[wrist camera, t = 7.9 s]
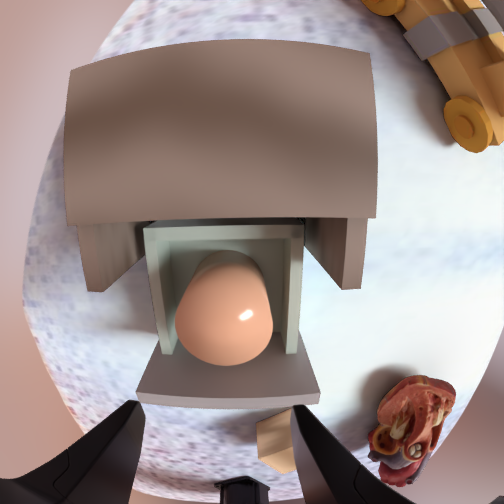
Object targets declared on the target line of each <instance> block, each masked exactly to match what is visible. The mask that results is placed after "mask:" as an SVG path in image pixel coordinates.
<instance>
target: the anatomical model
mask: <svg viewBox="0 0 504 504" xmlns="http://www.w3.org/2000/svg"><path fill="white" fill-rule="evenodd" d="M455 397H456V392H455V389H454V388H453V386H452V385H451V384H449V383H448V382H446V381H443V380H439V379H434V378H429V377H427V376H424V375H413V376H410V377H407V378H405V379H403V380H402V381H400V382H399V383H398V384H397V385H396V386H395V387H394V388H392V389H391V390H390V391H389V392H388V393H387V394H386V395H385V396H384V397H383V399H382V400H381V402H380V404H379V407H378V410H377V415H378V421H379V423H380V424H379V426H378V427H377V428H375V429H374V430H372V431H371V432H370V433H369V434H368V440H369V443H370V446H369V447H370V453H369V454H368V458H369V459H371V460H372V461H373V462H378V461H381V462H380V467H379V470H378V471H379V475H380V477H381V481H382V482H384V483H388V484H389V485H396V486H397V487H403V486H405V485H406V484H413V483H414V482H415V481H416V480H417V478H418V477H419V476H420V474H421V473H422V471H423V470H424V468H425V466H426V464H427V462H428V461H429V458H430V456H431V453H432V451H433V450H434V449H435V447H436V444H437V442H438V439H439V436H440V433H441V430H442V426H443V423H444V420H445V418H446V417H447V416H448V415H449V414H450V413H451V411H452V409H451V408H452V407H453V405H454V403H455Z"/></svg>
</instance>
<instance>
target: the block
mask: <svg viewBox="0 0 504 504" xmlns="http://www.w3.org/2000/svg"><path fill="white" fill-rule="evenodd" d="M291 409H292V408H291ZM291 409H288V410H286V411H284V412H282V413H279V414H277V415H275V416H272V417H270V418H267V419H265V420H262V421H260V422H257V423H256V433H257V448H258V459H259V460H261V461H262V462H264V463H265V464H267V465H269V466H270V467H272V468H273V469H275V470H277V471H278V472H280V473H282V474H284V473H287V472H290V471H293V470H296V465H295V460H294V454H293V445H292V436H291V427H290V417H291Z"/></svg>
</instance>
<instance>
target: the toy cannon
mask: <svg viewBox="0 0 504 504" xmlns="http://www.w3.org/2000/svg"><path fill="white" fill-rule="evenodd" d="M361 1H362V2H363V3H364V4H365V6H366V7H367V8H368V9H369V10H370V11H372V12H374V13H376V14H378V15H382V16H390V15H395V17H396V18H397V19H398V20H399V21H400V23H401V24H402V25H403V26H404V28H405V29H406V30H407V32H406V33H404V34H403V36H404V37H405V38H406V40H407V41H408V42H409V44H410V45H411V47H412V48H413V49H414V51H415V52H416V54H417V55H418V56H419V58H420V59H421V61H423V60H426V59H428V61H429V62H430V64H431V66H432V67H433V69H434V70H435V72H436V74H437V75H438V77H439V79H440V80H441V82H442V84H443V85H444V87H445V89H446V91H447V93H448V94H449V96H450V98H451V100H450V101H448V102H446V105H445V107H444V120H445V122H446V124H447V126H448V128H449V131H450V133H451V135H452V137H453V138H454V139H455V140H456V141H457V143H458V144H459V145H460V146H462V147H463V148H465V149H466V150H467V151H470V152H474V153H478V152H482V151H484V150H485V149H486V148H487V147H488V146H492V145H498V146H499V145H500V144H501V143H502V142H503V141H504V36H503V34H502V33H501V32H502V31H504V0H481V1H482V2H483V3H484V4H485V6H486V7H487V8H484V6H483V5H482V3H481V2H480V1H479V0H361Z"/></svg>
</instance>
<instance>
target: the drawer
mask: <svg viewBox="0 0 504 504" xmlns="http://www.w3.org/2000/svg"><path fill="white" fill-rule="evenodd" d="M143 232H144V242H145V252H146V261H147V269H148V276H149V284H150V290H151V297H152V303H153V309H154V315H155V320H156V326H157V331H158V336H159V340H158V343H157V345H156V347H155V349H154V351H153V354H152V356H151V358H150V360H149V362H148V365H147V367H146V369H145V371H144V374H143V376H142V378H141V380H140V383H139V385H138V387H137V390H136V394H137V397H138V400H139V402H140V403H146V404H154V405H162V406H173V407H185V408H203V409H261V408H279V407H292V406H293V405H298V404H304V405H312V404H318V403H319V398H320V390H319V387H318V384H317V381H316V378H315V375H314V372H313V369H312V366H311V363H310V360H309V358H308V355H307V352H306V349H305V346H304V343H303V340H302V337H301V335H300V332H299V318H300V304H301V288H302V270H303V249H304V224H303V223H301V222H300V221H299V220H298V219H296V218H295V217H250V218H205V219H176V220H157V221H155V222H154V223H152V224H150V225H148V226H147V227H145V228H143ZM222 250H234V251H238V252H241V253H244V254H246V255H247V256H249V257H251V258H252V259H253V260H254V261H255V262H256V263H257V264H258V266H259V267H260V269H261V271H262V274H263V277H264V282H265V287H266V291H267V296H268V301H269V306H270V311H271V316H272V321H273V331H272V336H271V339H270V341H269V343H268V345H267V346H266V348H265V349H264V350H263V351H262V352H261V353H260V354H259V355H258V356H256V357H255V358H253V359H251V360H249V361H247V362H245V363H241V364H238V365H230V366H222V365H214V364H211V363H207V362H205V361H202V360H200V359H198V358H197V357H195V356H194V355H192V354H191V353H190V352H189V351H188V350H187V349H186V348H185V347H184V346H183V345H182V343H181V342H180V340H179V338H178V335H177V333H176V329H175V315H176V311H177V308H178V306H179V304H180V302H181V299H182V297H183V295H184V293H185V291H186V289H187V287H188V284H189V282H190V280H191V278H192V276H193V274H194V272H195V270H196V268H197V266H198V264H199V263H200V262H201V261H202V260H203V259H204V258H205V257H207V256H208V255H210V254H212V253H214V252H217V251H222Z"/></svg>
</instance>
